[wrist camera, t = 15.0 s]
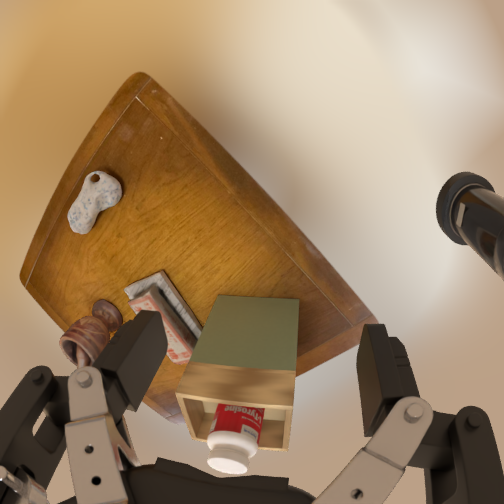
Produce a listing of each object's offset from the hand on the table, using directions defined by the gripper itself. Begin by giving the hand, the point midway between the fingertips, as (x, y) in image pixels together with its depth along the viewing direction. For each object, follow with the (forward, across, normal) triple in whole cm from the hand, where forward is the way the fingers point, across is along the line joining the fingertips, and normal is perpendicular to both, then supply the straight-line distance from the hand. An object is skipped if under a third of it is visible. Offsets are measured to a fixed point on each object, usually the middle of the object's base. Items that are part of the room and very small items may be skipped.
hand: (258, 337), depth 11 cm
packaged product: (+33, +22, +26) cm, 47 cm away
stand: (+33, +5, +26) cm, 42 cm away
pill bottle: (+17, +5, +26) cm, 31 cm away
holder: (+17, +5, +26) cm, 32 cm away
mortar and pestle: (+33, +36, +29) cm, 57 cm away
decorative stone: (+33, +32, +4) cm, 46 cm away
